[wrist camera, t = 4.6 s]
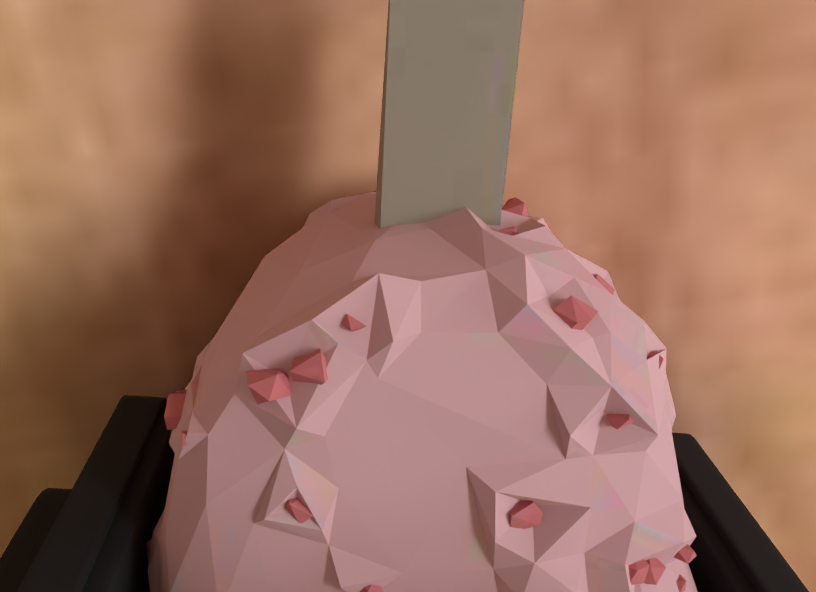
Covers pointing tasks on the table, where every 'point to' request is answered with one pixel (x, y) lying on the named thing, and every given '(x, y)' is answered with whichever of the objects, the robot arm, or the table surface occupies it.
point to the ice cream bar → (428, 377)
